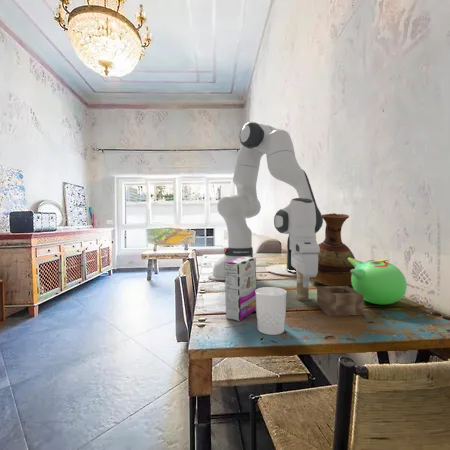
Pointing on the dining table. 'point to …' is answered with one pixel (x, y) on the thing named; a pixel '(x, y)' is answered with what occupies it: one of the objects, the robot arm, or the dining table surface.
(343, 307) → the socket block
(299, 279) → the beech dowel
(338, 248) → the brown clay vase
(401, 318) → the dining table surface
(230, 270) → the candy bar box
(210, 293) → the dining table surface
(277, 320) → the white cup
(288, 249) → the dark wine bottle
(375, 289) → the green rounded body
